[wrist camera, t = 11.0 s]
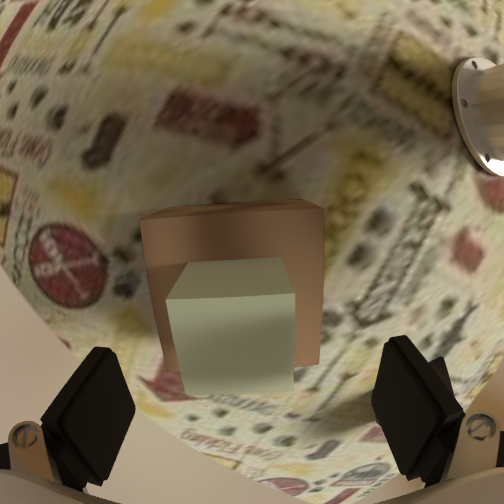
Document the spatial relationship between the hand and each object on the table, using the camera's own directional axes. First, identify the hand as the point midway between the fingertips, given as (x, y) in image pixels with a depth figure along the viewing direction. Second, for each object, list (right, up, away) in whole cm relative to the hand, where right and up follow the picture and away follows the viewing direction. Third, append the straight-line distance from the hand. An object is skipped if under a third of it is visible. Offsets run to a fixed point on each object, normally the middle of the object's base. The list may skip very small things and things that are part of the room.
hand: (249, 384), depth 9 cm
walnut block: (-1, +3, +13) cm, 14 cm away
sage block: (-1, +2, +7) cm, 8 cm away
